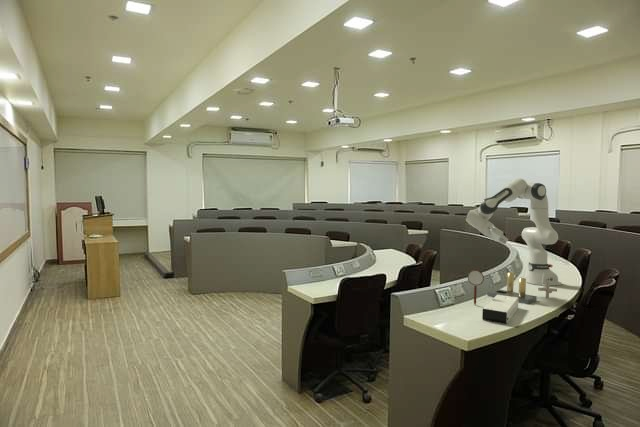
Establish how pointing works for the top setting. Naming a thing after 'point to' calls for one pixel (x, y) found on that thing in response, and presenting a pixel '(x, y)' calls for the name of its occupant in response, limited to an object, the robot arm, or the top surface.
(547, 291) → the pipe connector
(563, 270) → the top surface
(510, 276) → the brass pin
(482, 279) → the magnifying glass
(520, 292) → the bolt plate
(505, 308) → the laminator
